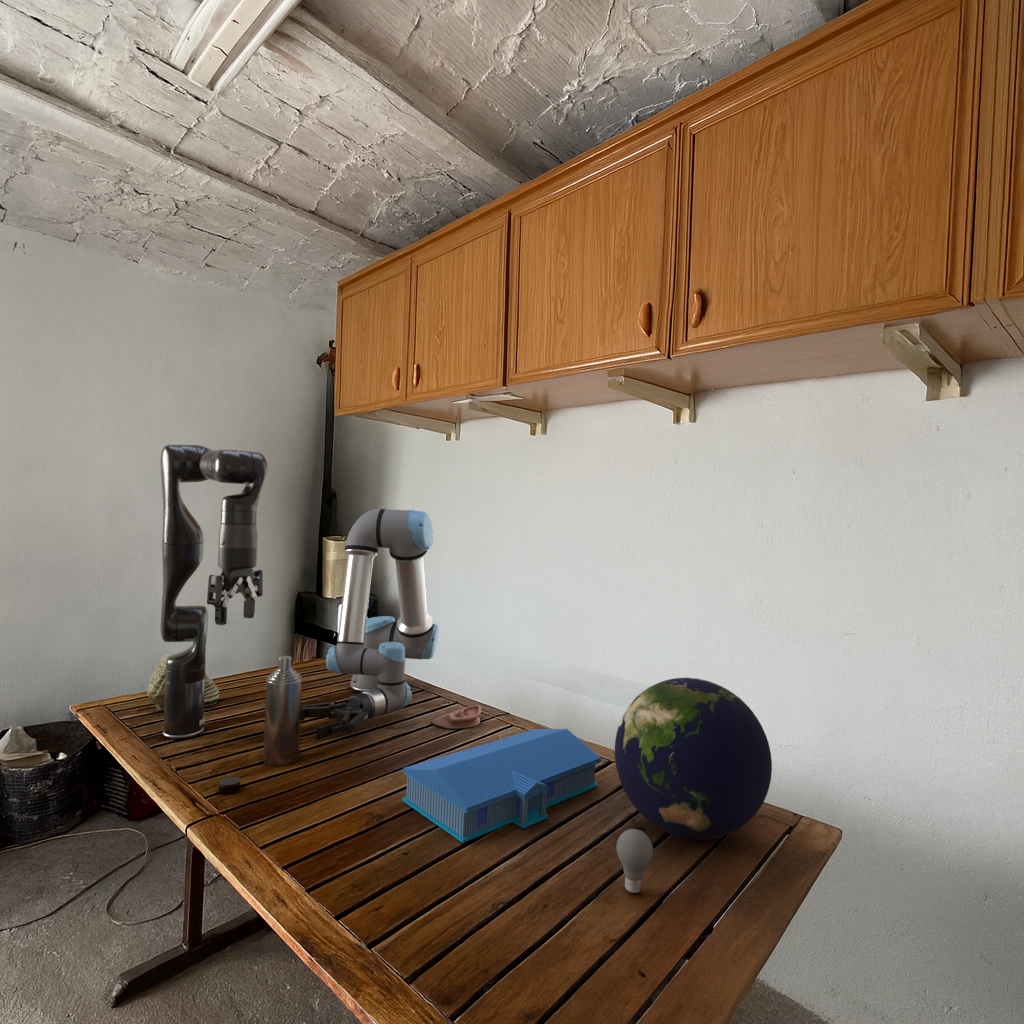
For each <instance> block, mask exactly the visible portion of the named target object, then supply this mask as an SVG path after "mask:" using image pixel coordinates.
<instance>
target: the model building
mask: <svg viewBox="0 0 1024 1024" xmlns="http://www.w3.org/2000/svg"><path fill="white" fill-rule="evenodd" d="M601 762H602V757H601V756H600V755H599V754H597V752H595V751H594V750H593V749H591V748H590V747H589V746H588V745H586V744H585V743H584V742H583V741H582V740H581V739H579V737H577V736H576V735H575V734H574V733H572V731H570V730H569V729H568V728H536V729H535V728H534V729H531V730H528V731H524V732H521V733H517V734H514V735H510V736H507V737H504V738H501V739H497V740H494V741H490V742H487V743H484V744H480V745H477V746H473V747H470V748H467V749H464V750H460V751H457V752H453V753H450V754H447V755H443V756H439V757H437V758H432V759H430V760H426V761H423V762H419V763H417V764H413V765H409V766H406V767H403V768H402V774H403V775H406V796H404V797H402V798H401V801H402V802H403V803H405V804H406V805H408V806H409V807H411V808H412V809H413V810H415V811H417V812H418V813H419V814H420V815H422V816H423V817H424V818H427V819H428V820H429V821H431V822H432V823H433V824H435V825H436V826H438V827H439V828H441V829H442V830H443V831H445V832H446V833H448V834H449V835H451V836H452V837H453V838H455V839H456V840H458V841H459V842H461V843H462V844H464V843H466V842H469V841H471V840H474V839H476V838H478V837H480V836H482V835H485V834H488V833H490V832H493V831H495V830H497V829H499V828H502V827H504V826H507V825H509V824H511V823H513V824H515V825H516V826H517V827H519V828H521V829H526V828H529V827H530V826H533V825H535V824H537V823H540V822H542V821H544V820H546V819H549V814H547V808H549V807H552V806H554V805H557V804H559V803H561V802H564V801H567V800H569V799H571V798H573V797H575V796H578V795H580V794H583V793H585V792H587V791H590V790H593V789H594V788H597V787H599V784H598V783H597V782H596V781H595V778H596V765H598V764H600V763H601Z"/></svg>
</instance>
